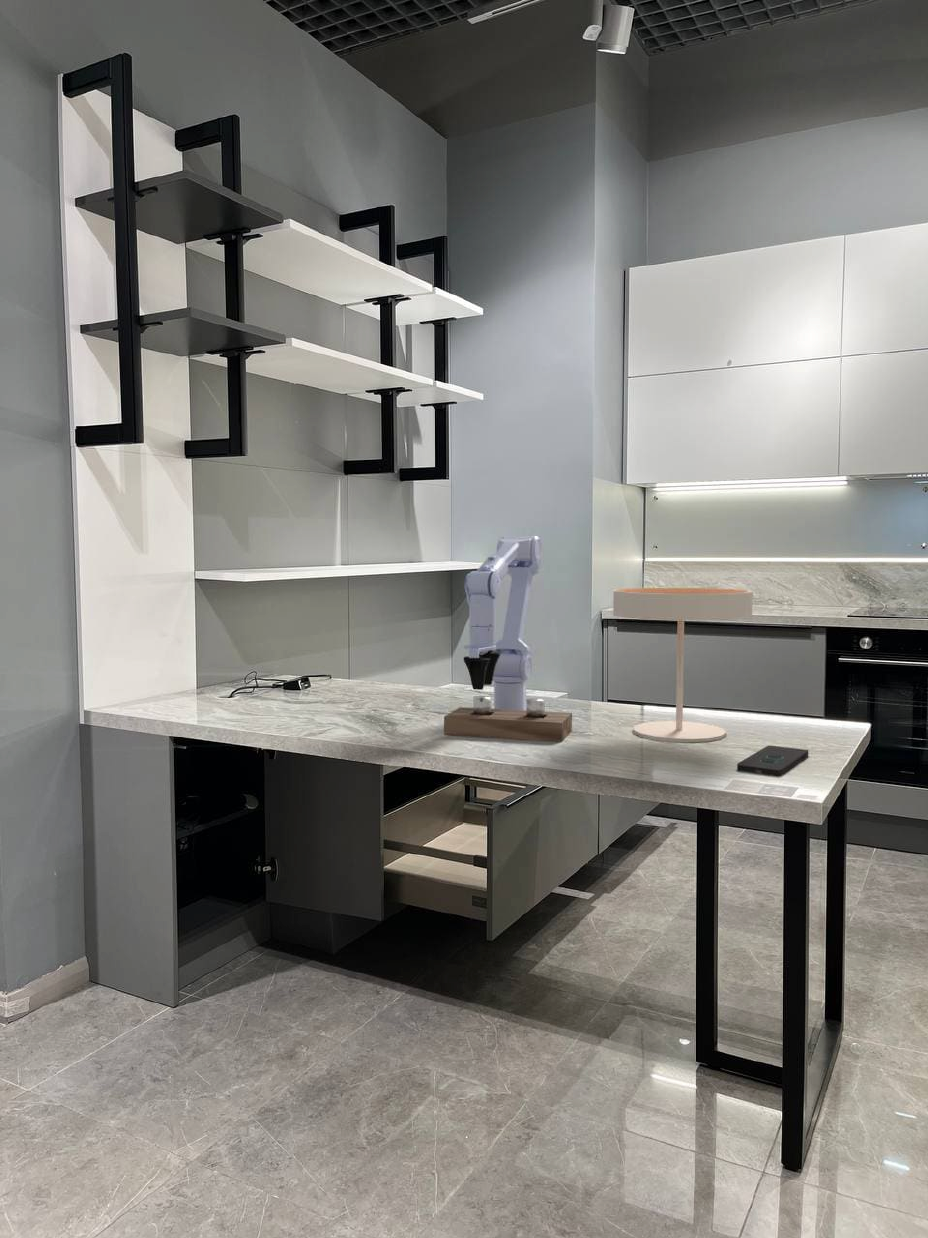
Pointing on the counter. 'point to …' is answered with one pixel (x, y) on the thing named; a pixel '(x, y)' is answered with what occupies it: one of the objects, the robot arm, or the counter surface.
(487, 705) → the peg
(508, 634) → the robot arm
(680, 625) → the desk lamp
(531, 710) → the peg
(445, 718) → the wooden peg board
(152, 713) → the counter surface
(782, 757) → the smart home device
